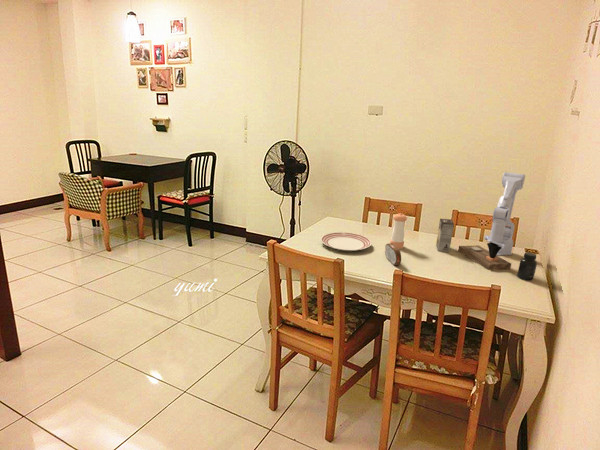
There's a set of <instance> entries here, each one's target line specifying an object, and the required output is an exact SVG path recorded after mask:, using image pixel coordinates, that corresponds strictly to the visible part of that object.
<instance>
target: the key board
mask: <svg viewBox="0 0 600 450" xmlns="http://www.w3.org/2000/svg"><path fill="white" fill-rule="evenodd" d="M471 247H478V248H480V249H482V251H481V252H475V251H473V250H471ZM457 252H459V253H460V254H462V255H463V256H466V257H467V258H468V259H470V260H471V261H473V262H474V263H476V264H478V265H480V266H481V267H483V268H484V269H486V270H488V271H498V270H499V271H500V270H501V271H504V270H511V268H512V263H511V262H509V261H507V260H506V259H504V258H502V257H500V255H496V258H498V261H490V260H488V259H486V256H489V251H488V249H486V248H484V247H482V246H480V245H459V246H458V249H457Z"/></svg>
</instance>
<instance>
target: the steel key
mask: <svg viewBox="0 0 600 450" xmlns="http://www.w3.org/2000/svg"><path fill="white" fill-rule="evenodd" d="M471 250H473V251H475V252H481V251H482V249H480V248H478V247H471Z"/></svg>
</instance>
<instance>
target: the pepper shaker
mask: <svg viewBox="0 0 600 450" xmlns="http://www.w3.org/2000/svg"><path fill="white" fill-rule="evenodd" d="M407 219H408V217H407V215H406V214H403V212H399V213H396V214H395V215H393V221H394V222H393V229H392V232H391V238H390V241H389V243H393V244H394V245H395V246H396V247H397V248H398V249H399V250H401V249H403V248H404V245H405V241H404V238H405V223H406V222H407Z"/></svg>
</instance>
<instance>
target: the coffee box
mask: <svg viewBox="0 0 600 450" xmlns="http://www.w3.org/2000/svg"><path fill="white" fill-rule="evenodd" d="M454 227H455V223H454V221H453V219H450V218H439V225H438V229H437V230H438V231H437V237H436V242H435V243H436V244H435V246H436V250H437V251H439V252H444V253H445V252H446V253H450V250H451V244H452V238H453V233H454Z"/></svg>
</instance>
